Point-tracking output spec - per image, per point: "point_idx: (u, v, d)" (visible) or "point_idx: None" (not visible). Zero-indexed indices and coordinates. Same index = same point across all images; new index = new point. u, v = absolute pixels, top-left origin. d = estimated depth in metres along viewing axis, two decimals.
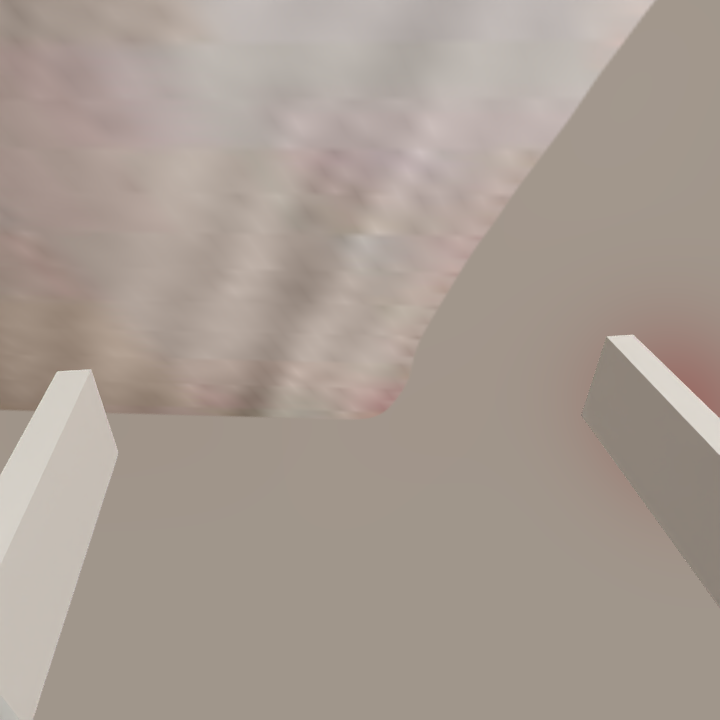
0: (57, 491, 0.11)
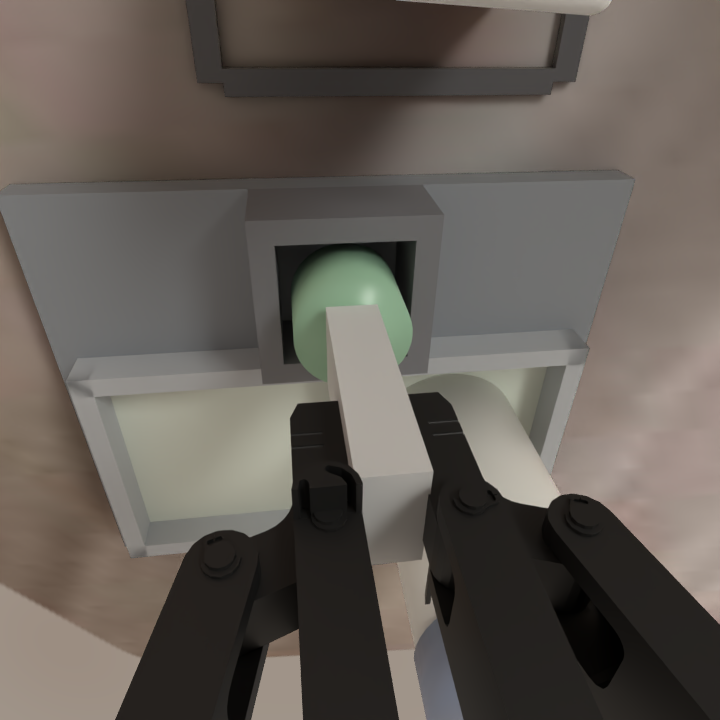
0: None
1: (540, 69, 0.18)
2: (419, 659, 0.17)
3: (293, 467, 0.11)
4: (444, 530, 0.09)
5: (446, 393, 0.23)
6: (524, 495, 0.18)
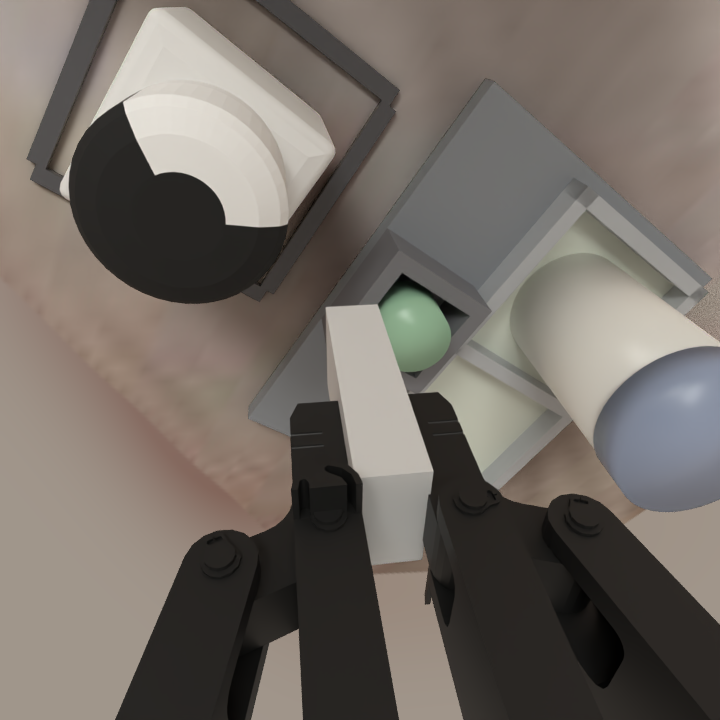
0: None
1: (376, 111, 0.25)
2: None
3: (293, 467, 0.11)
4: (444, 531, 0.09)
5: (530, 296, 0.29)
6: (601, 332, 0.24)
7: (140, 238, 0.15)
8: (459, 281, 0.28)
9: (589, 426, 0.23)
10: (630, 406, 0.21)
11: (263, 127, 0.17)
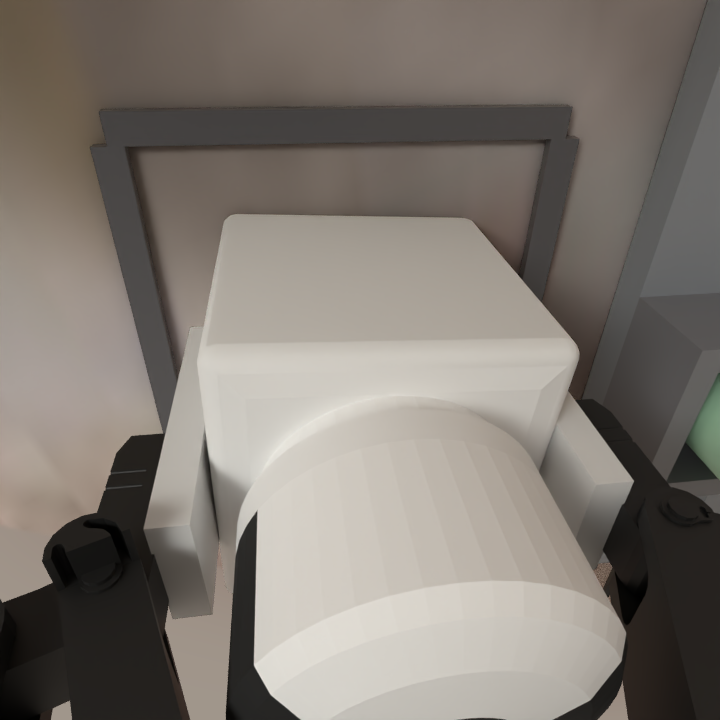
0: None
1: (548, 159, 0.15)
2: None
3: (98, 511, 0.10)
4: (646, 531, 0.10)
5: None
6: None
7: None
8: None
9: None
10: None
11: (474, 456, 0.08)
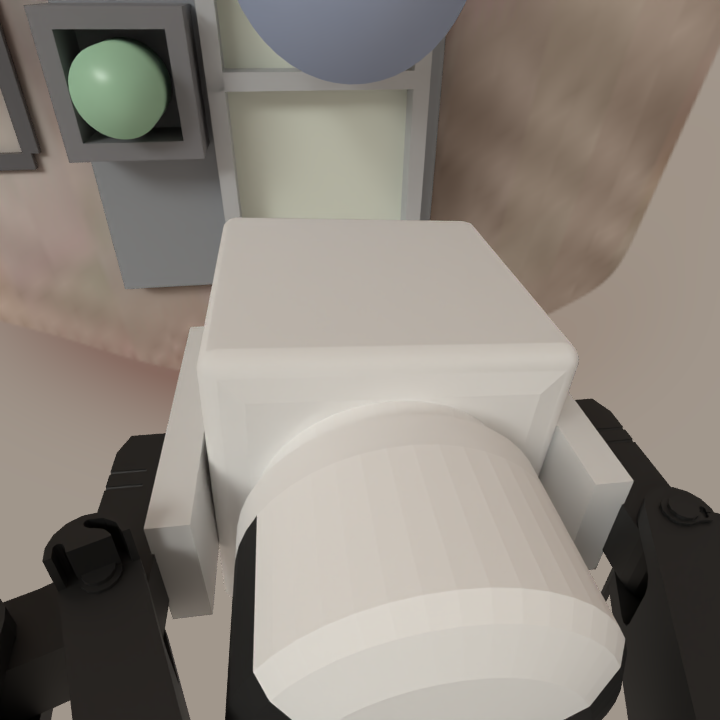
0: None
1: None
2: None
3: (99, 511, 0.10)
4: (645, 531, 0.10)
5: None
6: None
7: None
8: (149, 4, 0.23)
9: None
10: None
11: (473, 462, 0.08)
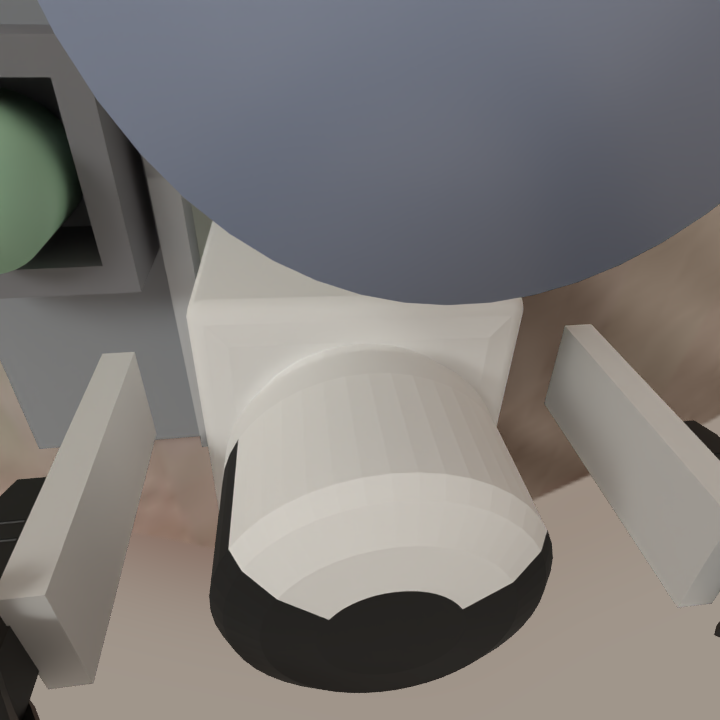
0: (111, 463, 0.11)
1: None
2: None
3: None
4: None
5: None
6: None
7: (357, 673, 0.10)
8: (30, 27, 0.13)
9: None
10: None
11: (419, 386, 0.10)
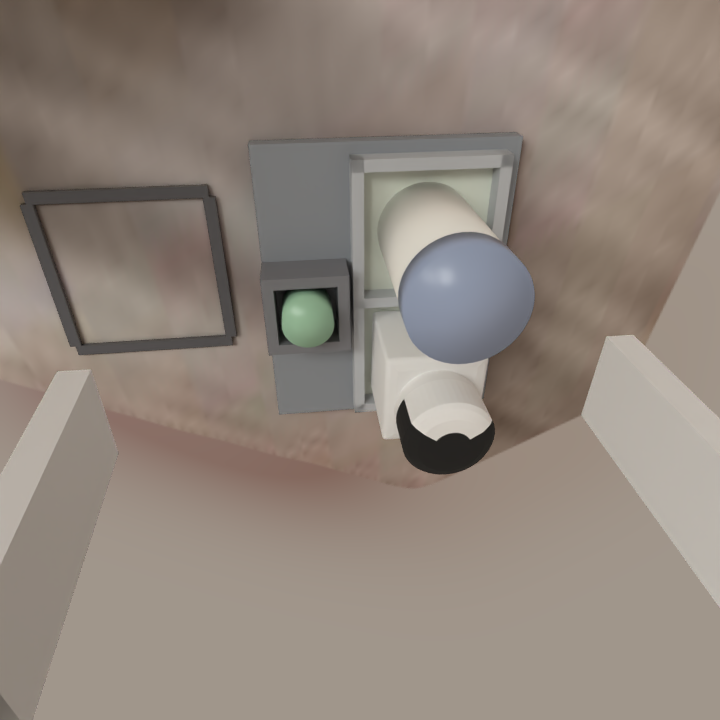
0: (57, 491, 0.11)
1: (204, 205, 0.37)
2: None
3: None
4: None
5: (379, 241, 0.37)
6: (394, 257, 0.32)
7: (441, 461, 0.35)
8: (324, 266, 0.38)
9: None
10: (401, 306, 0.29)
11: (457, 382, 0.35)
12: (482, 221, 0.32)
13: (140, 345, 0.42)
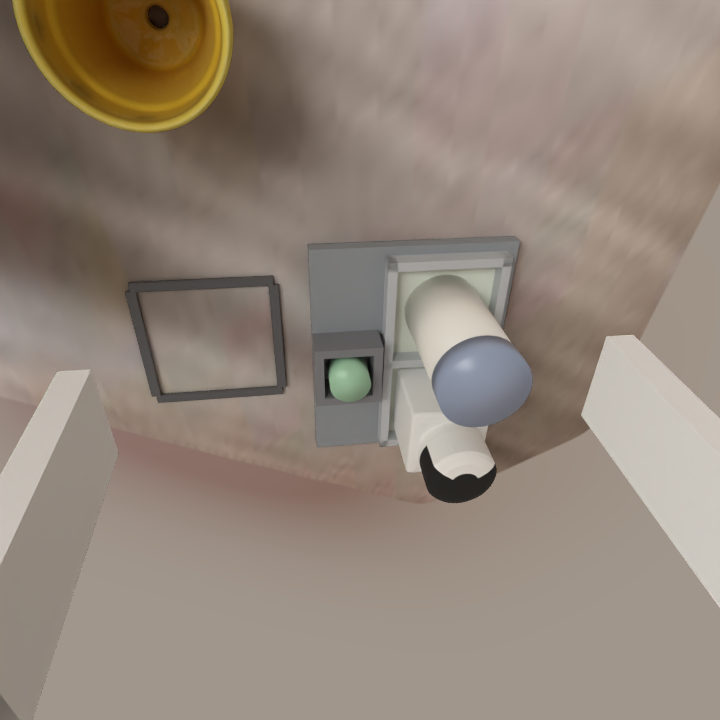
0: (57, 491, 0.11)
1: (269, 291, 0.47)
2: None
3: None
4: None
5: (407, 320, 0.48)
6: (426, 343, 0.42)
7: (455, 494, 0.45)
8: (363, 337, 0.48)
9: None
10: (435, 388, 0.40)
11: (468, 433, 0.46)
12: (492, 317, 0.42)
13: (208, 395, 0.52)
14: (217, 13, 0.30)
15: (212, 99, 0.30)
